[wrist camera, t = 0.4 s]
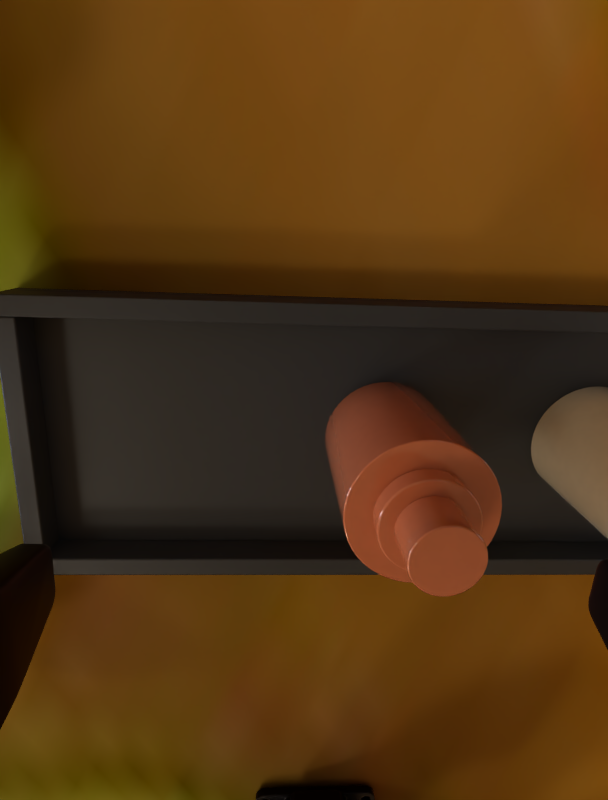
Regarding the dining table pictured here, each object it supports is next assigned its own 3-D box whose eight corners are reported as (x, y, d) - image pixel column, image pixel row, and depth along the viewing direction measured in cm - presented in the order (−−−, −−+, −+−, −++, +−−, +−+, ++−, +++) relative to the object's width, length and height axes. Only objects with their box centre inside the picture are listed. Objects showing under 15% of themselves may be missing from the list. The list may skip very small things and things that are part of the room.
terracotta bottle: (434, 491, 24) (524, 638, 15) (322, 490, 23) (349, 640, 15) (447, 382, 22) (555, 477, 13) (327, 380, 22) (361, 475, 13)
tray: (671, 548, 26) (704, 575, 24) (48, 547, 24) (27, 575, 22) (738, 309, 22) (783, 317, 20) (15, 287, 21) (-13, 293, 19)
